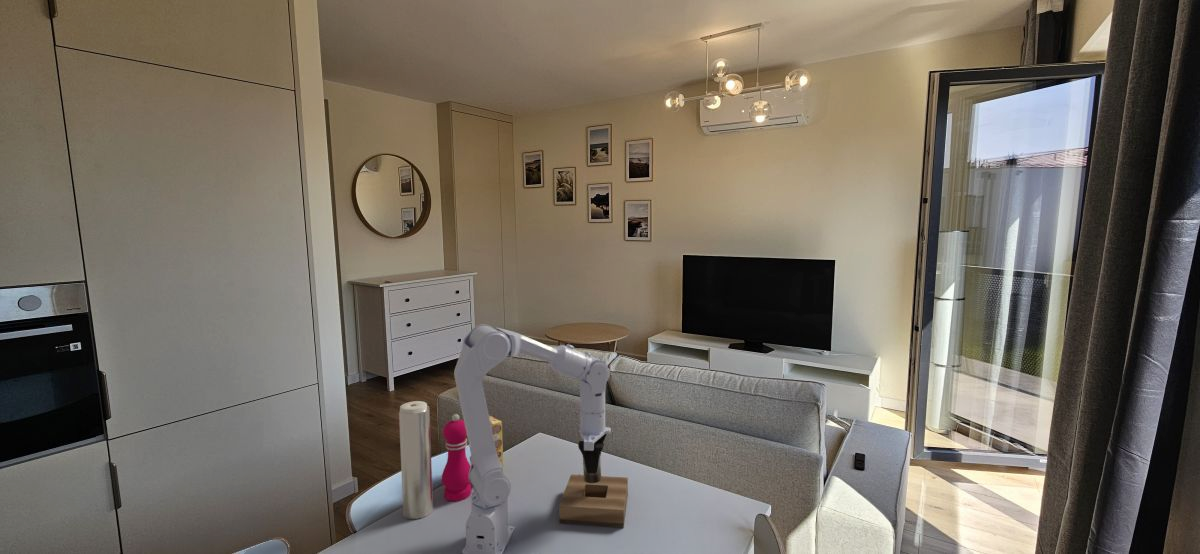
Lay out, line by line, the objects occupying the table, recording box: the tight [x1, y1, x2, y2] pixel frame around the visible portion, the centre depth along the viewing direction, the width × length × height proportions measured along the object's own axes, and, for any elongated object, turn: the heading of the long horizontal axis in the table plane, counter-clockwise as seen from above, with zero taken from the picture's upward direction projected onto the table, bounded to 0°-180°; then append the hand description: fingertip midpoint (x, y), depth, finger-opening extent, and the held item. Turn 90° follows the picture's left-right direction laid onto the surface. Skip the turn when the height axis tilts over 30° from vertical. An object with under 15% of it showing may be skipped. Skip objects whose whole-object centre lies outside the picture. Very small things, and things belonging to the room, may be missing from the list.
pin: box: [582, 442, 602, 483], centre depth 110 cm, size 4×4×8 cm
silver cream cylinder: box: [398, 400, 434, 520], centre depth 108 cm, size 6×6×25 cm
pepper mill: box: [441, 413, 472, 502], centre depth 116 cm, size 7×7×20 cm
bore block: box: [558, 474, 629, 529], centre depth 110 cm, size 14×14×4 cm
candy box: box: [489, 414, 505, 474], centre depth 125 cm, size 9×4×15 cm, turn 44°
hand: (593, 467), depth 110 cm, fingers closed on pin, 4 cm apart
